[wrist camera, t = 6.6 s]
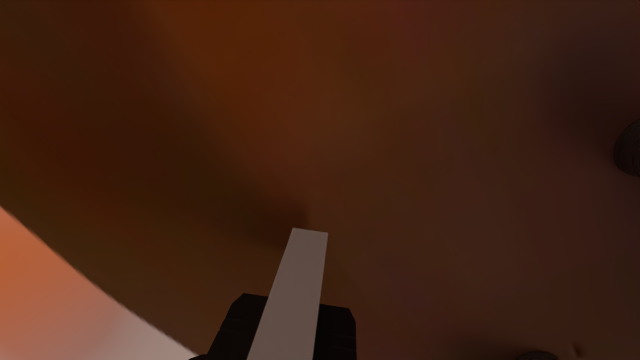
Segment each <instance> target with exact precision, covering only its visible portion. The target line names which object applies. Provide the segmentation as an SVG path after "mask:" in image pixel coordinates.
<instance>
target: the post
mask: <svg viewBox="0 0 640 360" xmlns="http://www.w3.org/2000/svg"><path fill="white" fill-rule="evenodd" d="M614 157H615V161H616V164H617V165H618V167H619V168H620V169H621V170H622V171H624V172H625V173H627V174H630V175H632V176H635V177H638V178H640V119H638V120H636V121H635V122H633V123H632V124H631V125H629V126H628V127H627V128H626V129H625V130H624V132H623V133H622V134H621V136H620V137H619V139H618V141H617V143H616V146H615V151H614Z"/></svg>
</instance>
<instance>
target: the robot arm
mask: <svg viewBox="0 0 640 360" xmlns="http://www.w3.org/2000/svg"><path fill="white" fill-rule="evenodd" d="M327 238H328V233H326V232H319V231H312V230H305V229H298V228H293V229H292V232H291V235H290V237H289V240H288V243H287V246H286V249H285V252H284V255H283V257H282V260H281V263H280V266H279V269H278V272H277V275H276V277H275V280H274V283H273V286H272V289H271V292H270V295H269V297H266V296H259V295H253V294H246V293H243V294H242V295H241V296H240V297H239V298H238V299H237V300H236V301H234V302H233V303H232V305H231V307H230V309H229V311H228V313H227V315H226V318H225V319H224V321H223V323H222V325H221V327H220V331H218V333H217V335H216V337H215V339H214V341H213V343H212V345H211V347H210V349H209V351H208V353H207V354H202V355H199V356H197V357H194V358H191V359H189V360H357V355H356V322H355V320H354V318H353V316H352V314H351V312H350V310H349V308H343V307H336V306H330V305H324V304H319V302H320V294H321V286H322V278H323V270H324V262H325V254H326V246H327Z"/></svg>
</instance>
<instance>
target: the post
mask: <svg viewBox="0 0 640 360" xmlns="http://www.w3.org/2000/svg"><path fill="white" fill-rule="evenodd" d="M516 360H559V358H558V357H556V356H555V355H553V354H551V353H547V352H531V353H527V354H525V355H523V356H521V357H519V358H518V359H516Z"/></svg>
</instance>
